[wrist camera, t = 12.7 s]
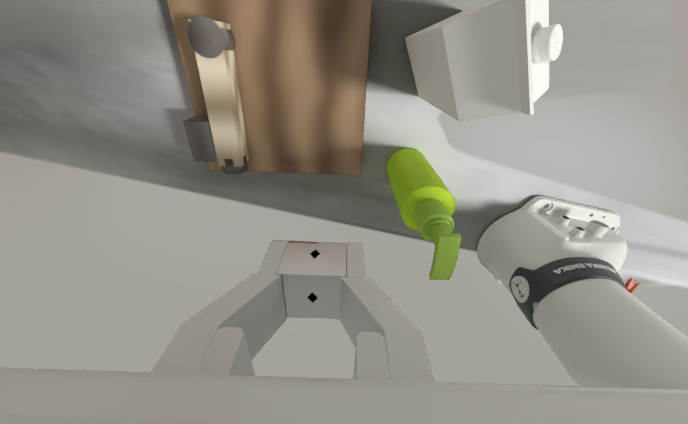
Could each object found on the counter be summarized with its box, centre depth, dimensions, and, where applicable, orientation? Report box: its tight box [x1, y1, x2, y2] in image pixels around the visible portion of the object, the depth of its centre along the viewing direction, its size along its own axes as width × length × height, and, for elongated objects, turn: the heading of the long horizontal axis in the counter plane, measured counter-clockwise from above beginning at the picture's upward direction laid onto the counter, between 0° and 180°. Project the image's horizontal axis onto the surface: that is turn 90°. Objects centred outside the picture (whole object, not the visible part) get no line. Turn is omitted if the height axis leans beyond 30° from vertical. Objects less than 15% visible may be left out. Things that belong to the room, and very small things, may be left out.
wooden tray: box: [167, 0, 372, 175], centre depth 33 cm, size 22×20×6 cm
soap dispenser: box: [387, 148, 461, 280], centre depth 32 cm, size 6×7×20 cm
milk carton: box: [405, 0, 563, 122], centre depth 24 cm, size 7×7×19 cm
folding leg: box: [187, 16, 249, 174], centre depth 32 cm, size 17×4×3 cm, turn 177°
